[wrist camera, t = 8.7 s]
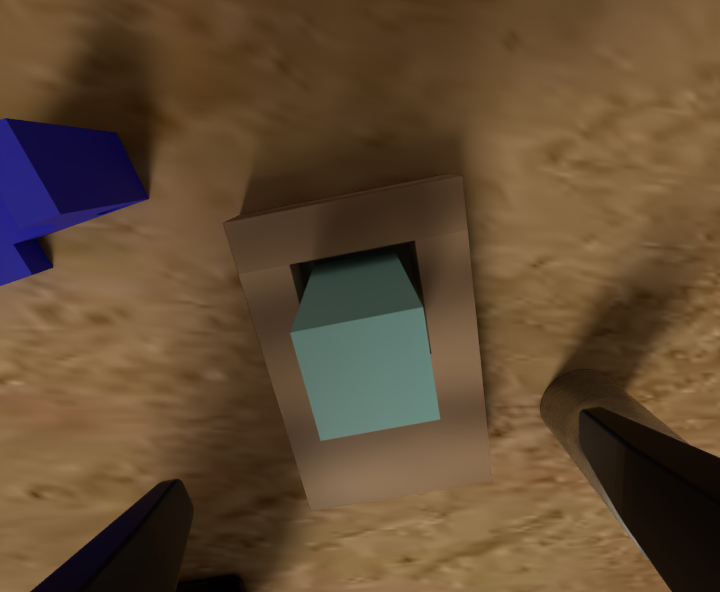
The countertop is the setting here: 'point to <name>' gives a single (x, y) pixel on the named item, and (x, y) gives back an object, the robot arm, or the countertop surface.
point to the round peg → (589, 392)
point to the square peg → (364, 347)
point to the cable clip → (56, 187)
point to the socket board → (442, 317)
